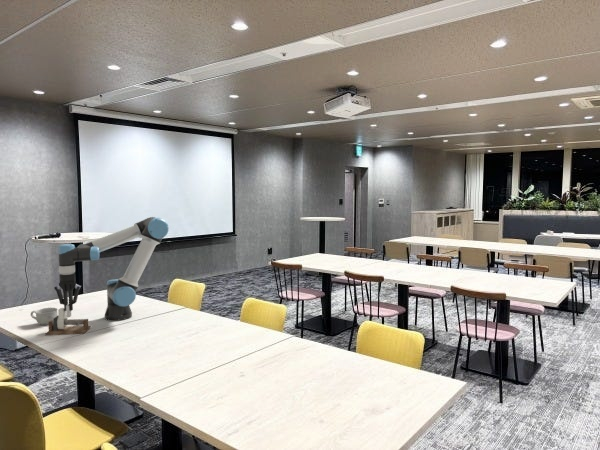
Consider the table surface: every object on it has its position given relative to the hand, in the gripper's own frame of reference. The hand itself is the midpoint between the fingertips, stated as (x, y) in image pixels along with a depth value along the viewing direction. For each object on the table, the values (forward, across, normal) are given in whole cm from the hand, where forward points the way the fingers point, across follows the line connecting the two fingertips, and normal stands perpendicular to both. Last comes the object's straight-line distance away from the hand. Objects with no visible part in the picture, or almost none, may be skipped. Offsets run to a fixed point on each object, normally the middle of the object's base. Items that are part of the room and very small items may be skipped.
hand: (68, 316), depth 230 cm
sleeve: (+6, +3, 0) cm, 7 cm away
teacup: (+8, +19, -16) cm, 26 cm away
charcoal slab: (+6, +6, 0) cm, 8 cm away
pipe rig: (+8, 0, 0) cm, 8 cm away
